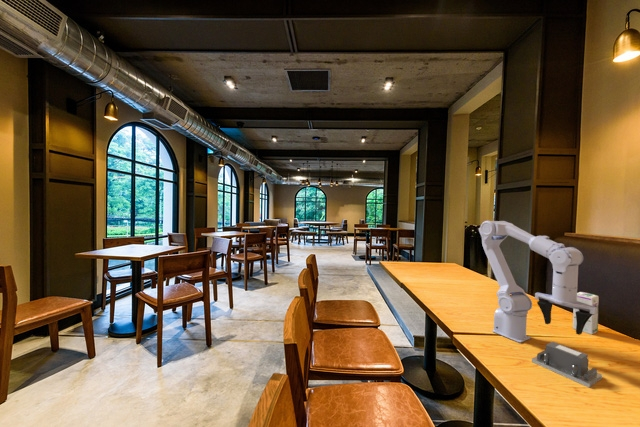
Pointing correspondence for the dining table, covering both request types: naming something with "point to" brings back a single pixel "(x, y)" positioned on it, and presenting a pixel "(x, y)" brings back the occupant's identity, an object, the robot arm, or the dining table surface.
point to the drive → (566, 357)
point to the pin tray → (585, 379)
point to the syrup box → (592, 322)
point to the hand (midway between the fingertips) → (562, 328)
